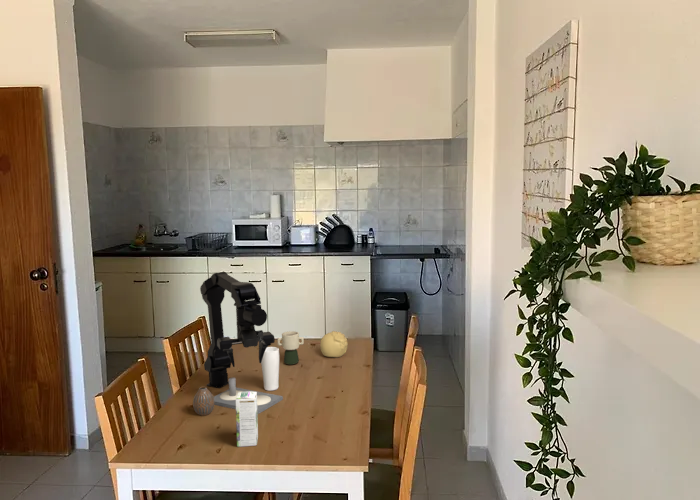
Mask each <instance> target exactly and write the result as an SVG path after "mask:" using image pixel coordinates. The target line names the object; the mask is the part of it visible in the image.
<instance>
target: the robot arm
mask: <svg viewBox="0 0 700 500" xmlns="http://www.w3.org/2000/svg"><path fill="white" fill-rule="evenodd" d="M199 290H200V294H201V298H202V300H203V302H204V303H205V304H206V305H207V312H208V313H207V314H208V325H209V333H210V342H211V343H210V345H209V347H208V350H207V357H206V360H205V362H204V363H203V367H204V371H206V372H208V382H209V383H207V384H206V387H210V388H217V389H221V388H223V387H225V386H228V385H229V374H228V369H230V368H231V365H232V367H233V368H235V365H236V364H235V358H234V349H233V346H234V345H241V344H242V345H243V346H242V347H243V348H247V349H248V348H249V347H258V362H259V364H261V362H262V358H263V355H264V352H265V350H266V348H267V347H271V345H272V344H274V343H275V336H274V334H273V333H271V332H270V331H263V330H262V329H260V330H256V328H255V326H257V327H261V326H263V325H264V324H265V323H266V322H267V319H268V314H267V312H266V310H264V309H263V308H262V305H261V304H262V302H261V297H260V295H259V293H258V291H257V288H256V287H255V285H254V284H253V283H252V282H247V281H240V280H238V279H236V278H234V277H232V276H231V275H229V274H228V273H227V272H225V271H220V272H219V271H218V272H214V273H213V274H211V276H210V277H208V278H207V279H205V280H204V281H203V282H202V284H201V285H200V288H199ZM225 291H228V292H229V293H230V298H232V299H233V301H234V304H233V306H234V307H235V313H236V315H235V316H236V317H235V318H236V337H237V338H232V339H231V338H230V336H224V335H225V334H224V323H223V316H222V315H223V314H222V303H223V301H224V299H225Z"/></svg>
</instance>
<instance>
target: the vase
mask: <svg viewBox="0 0 700 500" xmlns="http://www.w3.org/2000/svg"><path fill="white" fill-rule="evenodd" d="M192 406H193V410H194V412H195V413H196V414H197V415H199V416H208V415H209V414H211V413H212V412H213V410H214V408H215V405H214V394H213V393H212V392H211V391H210V390H209V389H208V386H201V387H199V388H198V390H197V392H196V393H195V395H194V397H193V400H192Z"/></svg>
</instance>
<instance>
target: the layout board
mask: <svg viewBox="0 0 700 500" xmlns="http://www.w3.org/2000/svg"><path fill="white" fill-rule="evenodd" d="M228 381H229V384H228V389H226V390H224V391H223V392H220V393H219V394H217V395H213V397H214V406H218V407H224V408H228V409H232V410H233V409H234V410H236V398H237V395H238V392H248V391H250V392H257V413H258V415H259V414H261V413H262V412H264V411H266V410H267V409H269V408H271V407H273V406H274V405H276V404H278V403H280V402H281V401H283V400H284V397H283V395H278V394H273V393H268V392H262V391H257V390H252V389H246V388H241V387H237V386H236V383H237V382H236V381H237V379H236V377H228Z"/></svg>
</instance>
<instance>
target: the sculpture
mask: <svg viewBox="0 0 700 500" xmlns="http://www.w3.org/2000/svg"><path fill="white" fill-rule="evenodd" d="M319 344H320V345H319V346H320V348H319V349H320V352H321V353H322V355H323V356H325V357H328V358H340V357H341V358H342V356H344V355H345V354H346V352H347V350H348V345H349V344H348V339H347V337H346V335H345V334H344V333H342V332H341V331H334V330H332V331H330V332H327V333H326V334H324V335H323V336H322V337H321V340H320V343H319Z"/></svg>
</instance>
